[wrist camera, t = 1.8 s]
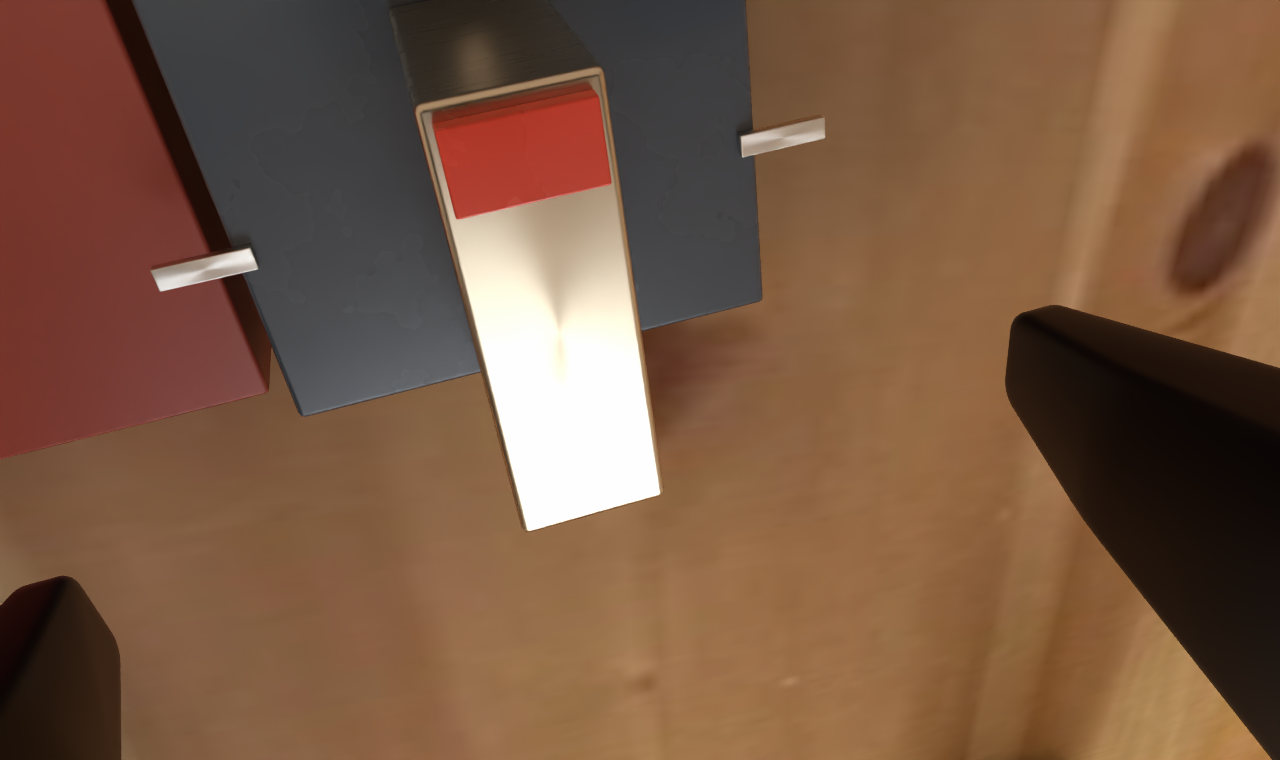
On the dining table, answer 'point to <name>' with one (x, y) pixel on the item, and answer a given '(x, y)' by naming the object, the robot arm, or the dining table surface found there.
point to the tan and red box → (536, 247)
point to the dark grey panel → (401, 186)
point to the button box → (105, 238)
